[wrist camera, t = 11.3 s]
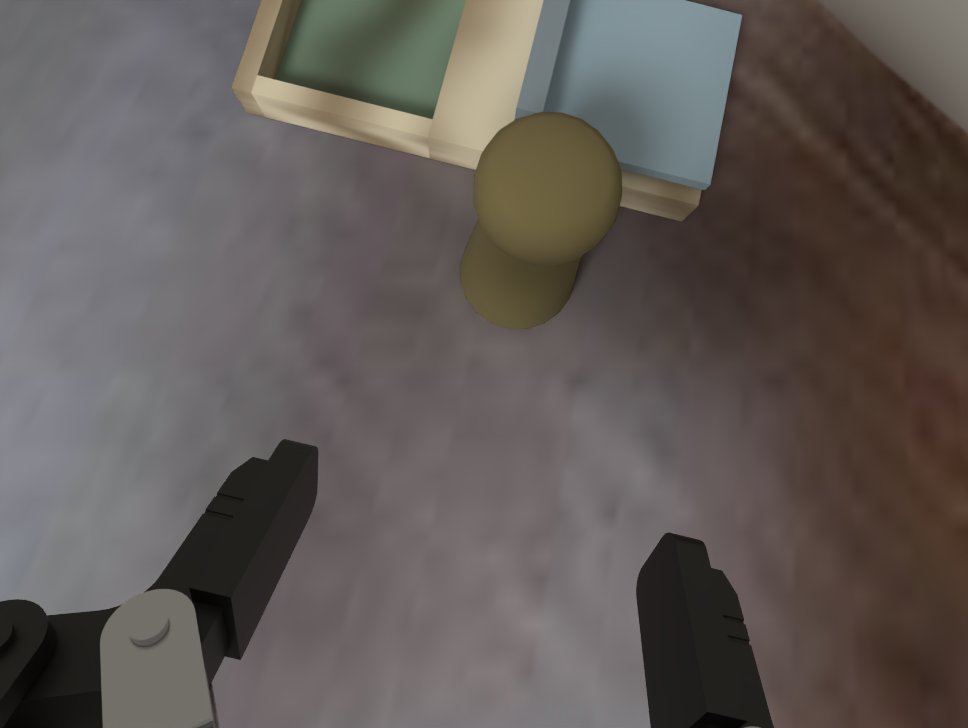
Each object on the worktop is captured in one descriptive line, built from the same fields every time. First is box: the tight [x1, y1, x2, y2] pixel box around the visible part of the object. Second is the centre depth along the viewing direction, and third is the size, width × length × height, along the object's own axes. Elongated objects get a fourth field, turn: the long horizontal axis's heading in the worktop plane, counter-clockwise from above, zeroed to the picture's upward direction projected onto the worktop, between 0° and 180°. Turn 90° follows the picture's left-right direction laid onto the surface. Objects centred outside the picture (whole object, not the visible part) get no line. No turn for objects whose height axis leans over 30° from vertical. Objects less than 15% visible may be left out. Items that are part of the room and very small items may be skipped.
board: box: [232, 0, 702, 222], centre depth 28 cm, size 24×11×2 cm, turn 76°
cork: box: [460, 112, 622, 329], centre depth 23 cm, size 6×6×11 cm
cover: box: [514, 0, 742, 190], centre depth 26 cm, size 10×10×3 cm
